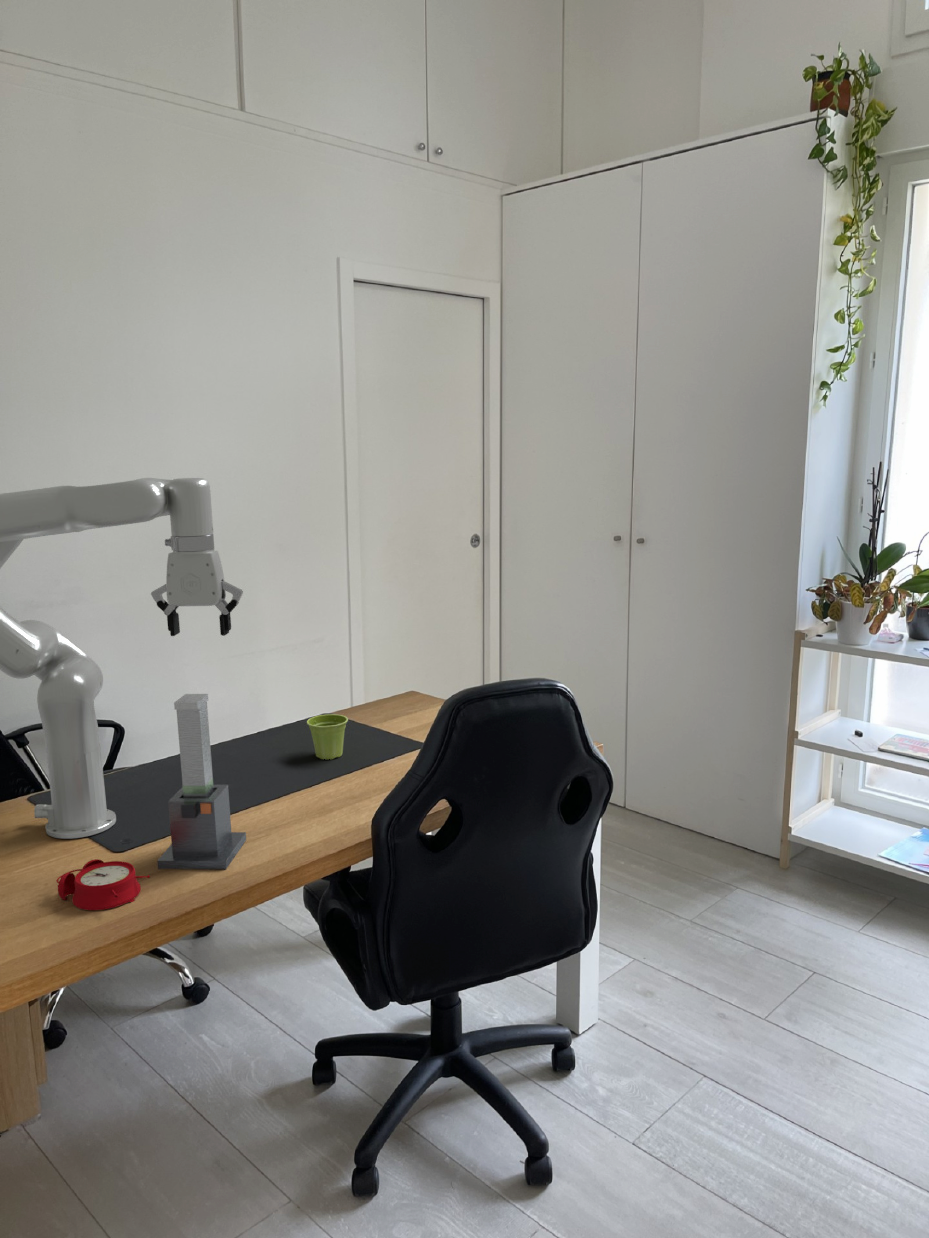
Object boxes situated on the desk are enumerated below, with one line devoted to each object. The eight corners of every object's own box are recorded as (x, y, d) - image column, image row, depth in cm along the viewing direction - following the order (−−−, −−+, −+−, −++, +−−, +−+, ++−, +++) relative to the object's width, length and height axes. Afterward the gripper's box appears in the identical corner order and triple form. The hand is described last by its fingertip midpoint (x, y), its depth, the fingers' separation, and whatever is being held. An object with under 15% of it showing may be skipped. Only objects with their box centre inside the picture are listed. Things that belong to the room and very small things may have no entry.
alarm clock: (111, 896, 144) (39, 861, 149) (107, 931, 146) (37, 895, 151) (158, 868, 153) (89, 836, 159) (154, 901, 155) (86, 868, 160)
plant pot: (346, 762, 213) (344, 725, 211) (305, 762, 213) (303, 726, 212) (352, 748, 222) (350, 713, 221) (312, 749, 222) (310, 714, 221)
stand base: (157, 868, 161) (152, 805, 159) (182, 839, 173) (177, 780, 171) (226, 869, 160) (221, 805, 158) (246, 839, 172) (242, 780, 170)
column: (183, 820, 162) (174, 702, 159) (194, 807, 168) (185, 693, 164) (206, 820, 162) (197, 702, 158) (216, 807, 168) (207, 693, 164)
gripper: (140, 547, 171) (148, 639, 174) (232, 546, 170) (239, 638, 173) (155, 543, 179) (163, 631, 182) (244, 542, 178) (250, 630, 181)
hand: (200, 634), depth 178 cm, fingers open, 9 cm apart
